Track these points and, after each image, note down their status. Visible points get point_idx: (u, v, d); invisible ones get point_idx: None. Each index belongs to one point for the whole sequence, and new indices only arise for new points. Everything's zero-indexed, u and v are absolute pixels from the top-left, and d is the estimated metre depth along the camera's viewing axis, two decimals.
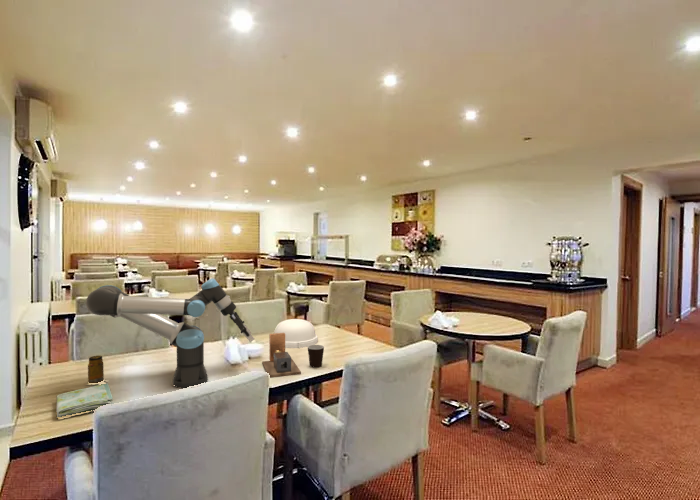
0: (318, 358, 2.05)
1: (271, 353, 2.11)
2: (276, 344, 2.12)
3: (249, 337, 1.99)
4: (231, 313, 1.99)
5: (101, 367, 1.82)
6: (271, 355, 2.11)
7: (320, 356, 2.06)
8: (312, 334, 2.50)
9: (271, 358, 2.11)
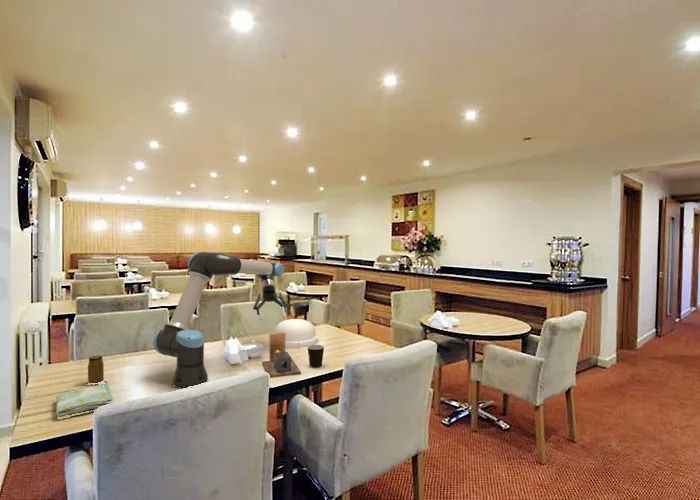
0: (318, 358, 2.05)
1: (271, 353, 2.11)
2: (276, 344, 2.12)
3: None
4: (275, 293, 2.41)
5: (101, 367, 1.82)
6: (271, 355, 2.11)
7: (320, 356, 2.06)
8: (312, 334, 2.50)
9: (271, 358, 2.11)
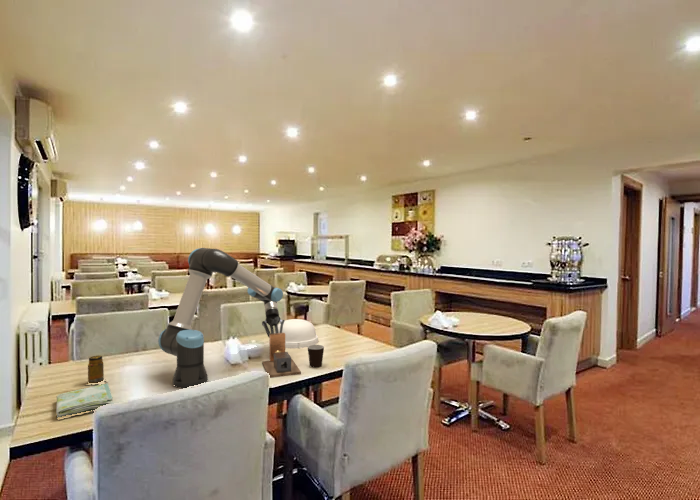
0: (318, 358, 2.05)
1: (271, 353, 2.11)
2: (276, 344, 2.12)
3: None
4: None
5: (101, 367, 1.82)
6: (271, 355, 2.11)
7: (320, 356, 2.06)
8: (312, 334, 2.50)
9: (271, 358, 2.11)
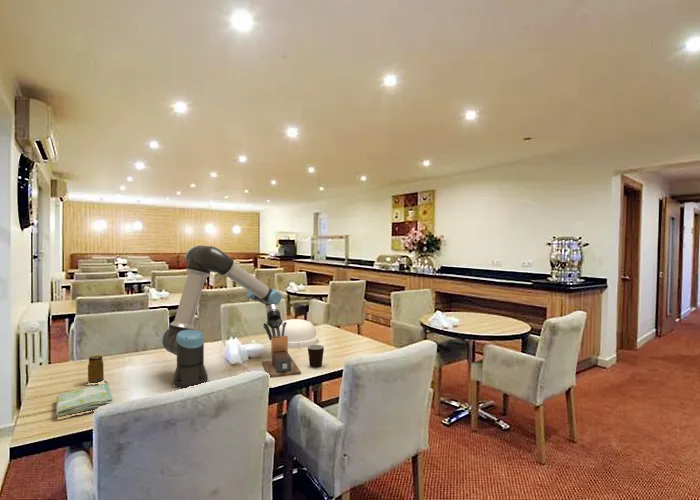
0: (318, 358, 2.05)
1: (273, 357, 2.05)
2: (279, 348, 2.05)
3: None
4: None
5: (101, 367, 1.82)
6: None
7: (320, 356, 2.06)
8: (312, 334, 2.50)
9: (273, 362, 2.05)
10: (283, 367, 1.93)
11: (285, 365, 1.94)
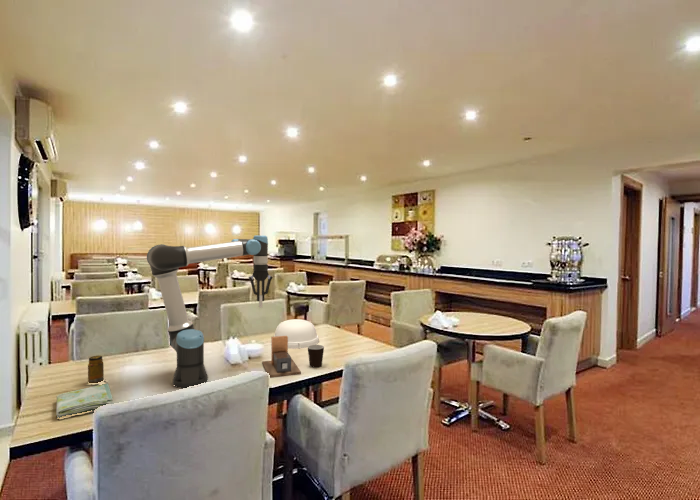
0: (318, 358, 2.05)
1: (273, 357, 2.05)
2: (279, 348, 2.05)
3: None
4: None
5: (101, 367, 1.82)
6: None
7: (320, 356, 2.06)
8: (313, 335, 2.49)
9: (273, 362, 2.05)
10: (283, 367, 1.93)
11: (285, 365, 1.94)
